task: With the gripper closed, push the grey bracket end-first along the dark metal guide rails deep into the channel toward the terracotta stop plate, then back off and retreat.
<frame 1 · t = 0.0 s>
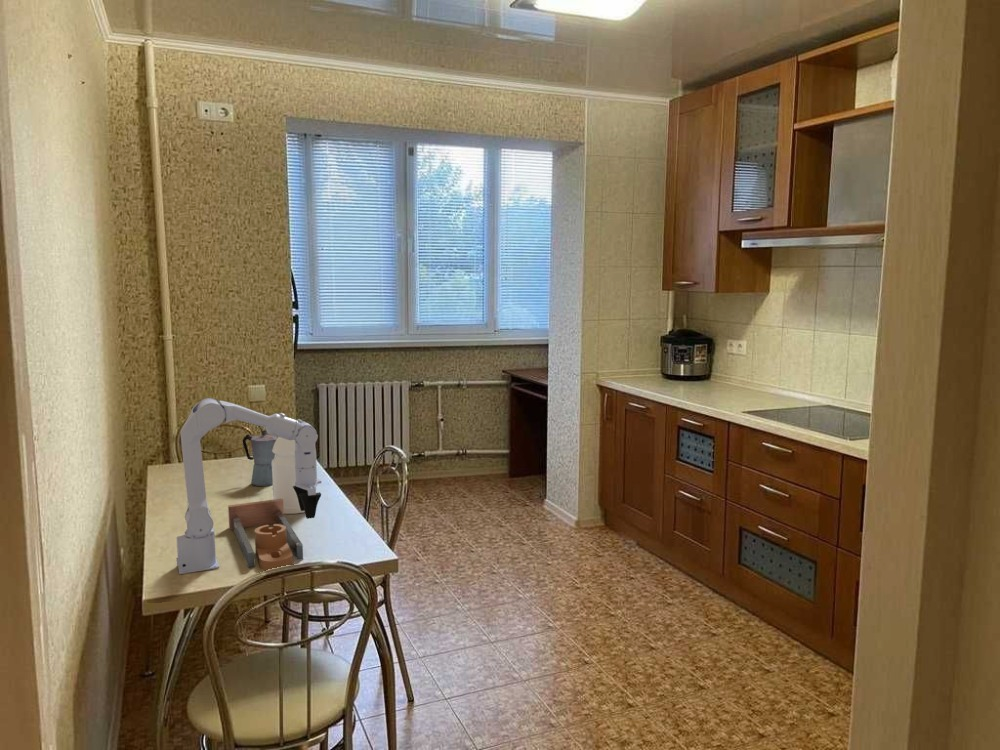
hand: (307, 514, 205), 10 cm above the table, tool pointing down, fingers open, 7 cm apart
moka pot: (262, 483, 273), on the table
receiver: (266, 543, 210), on the table
bracket: (273, 559, 199), on the table
bottle: (295, 508, 243), on the table
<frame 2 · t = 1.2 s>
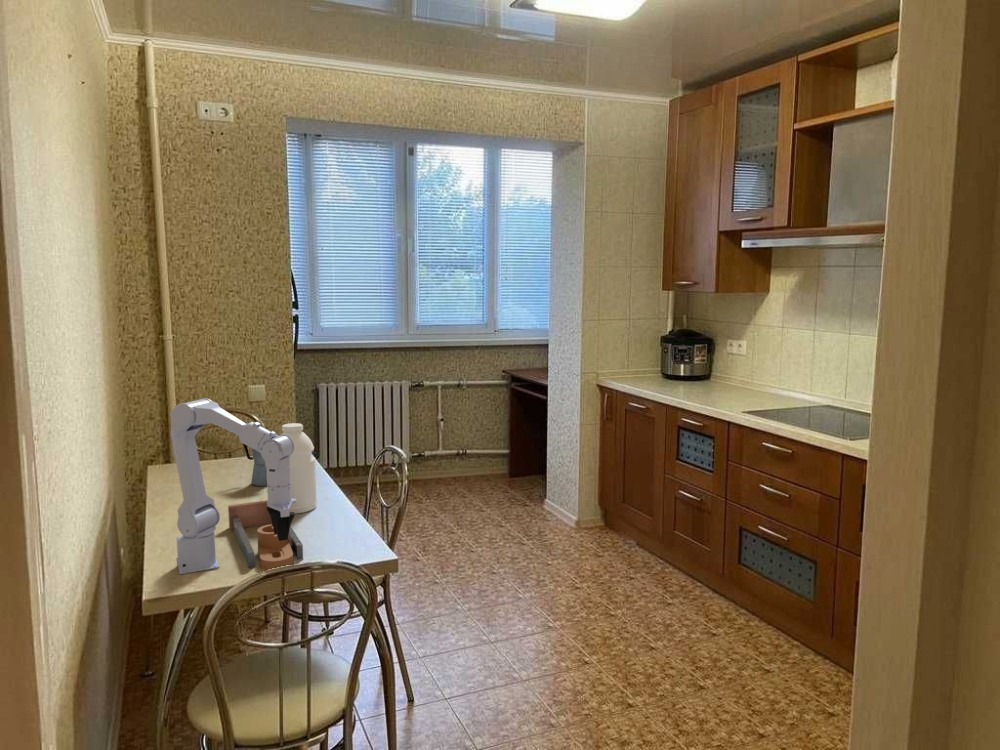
hand: (281, 536, 185), 10 cm above the table, tool pointing down, fingers open, 5 cm apart
nothing on the table moved.
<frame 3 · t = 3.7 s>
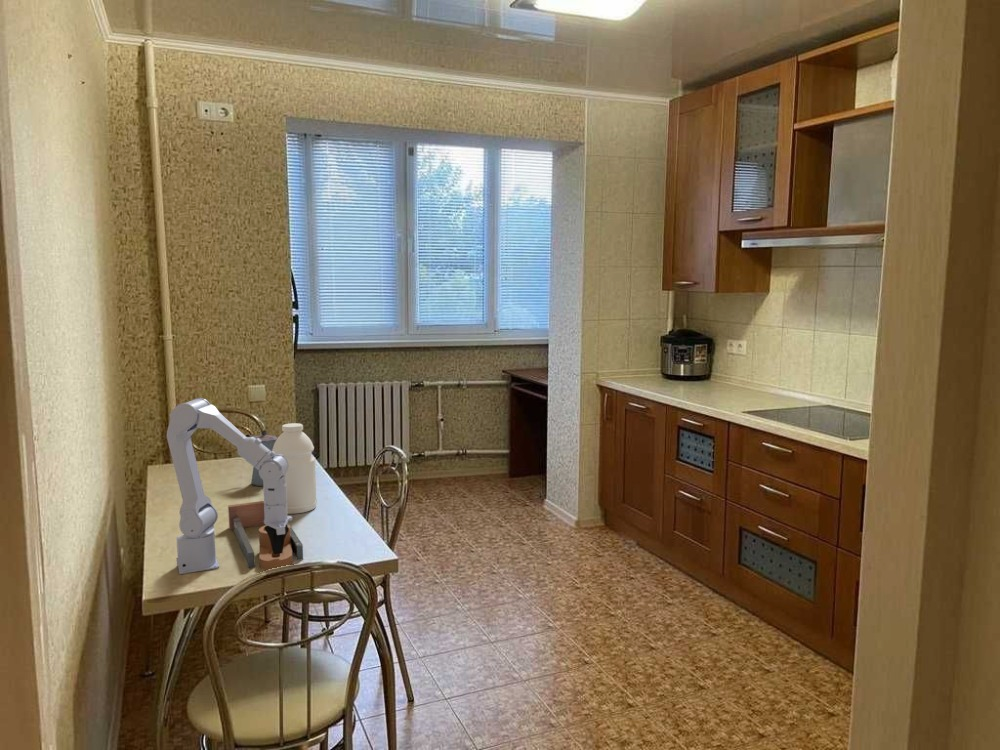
hand: (277, 553, 192), 4 cm above the table, tool pointing down, fingers closed
nothing on the table moved.
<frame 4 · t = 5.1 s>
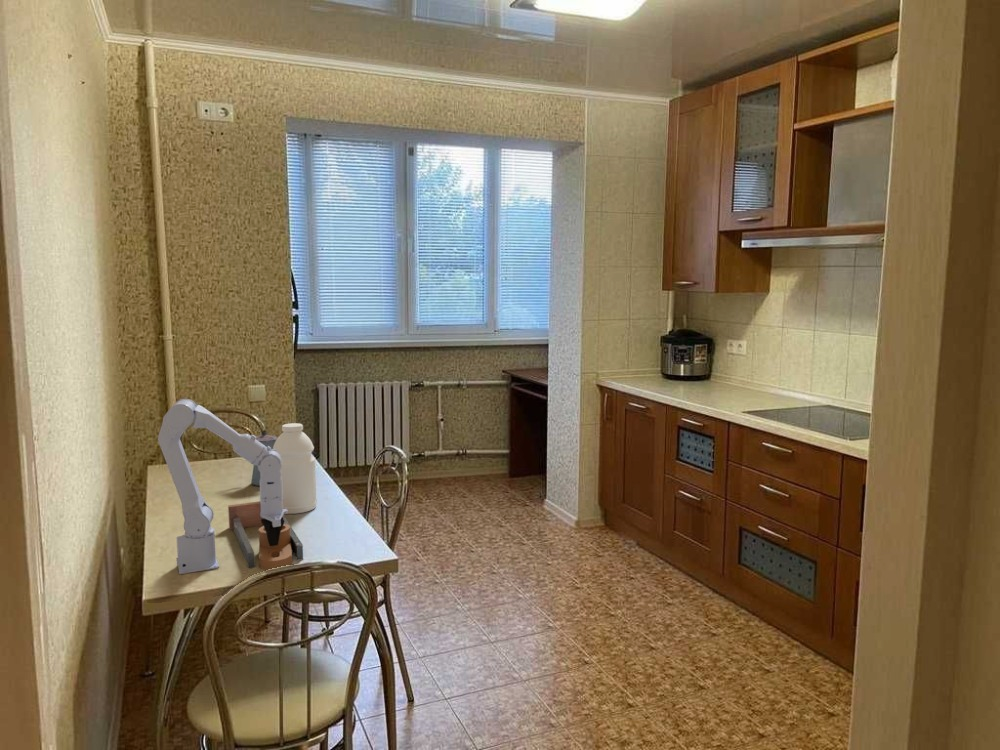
hand: (273, 544, 198), 4 cm above the table, tool pointing down, fingers closed
bracket: (275, 559, 199), on the table, touching gripper
everything else where it was.
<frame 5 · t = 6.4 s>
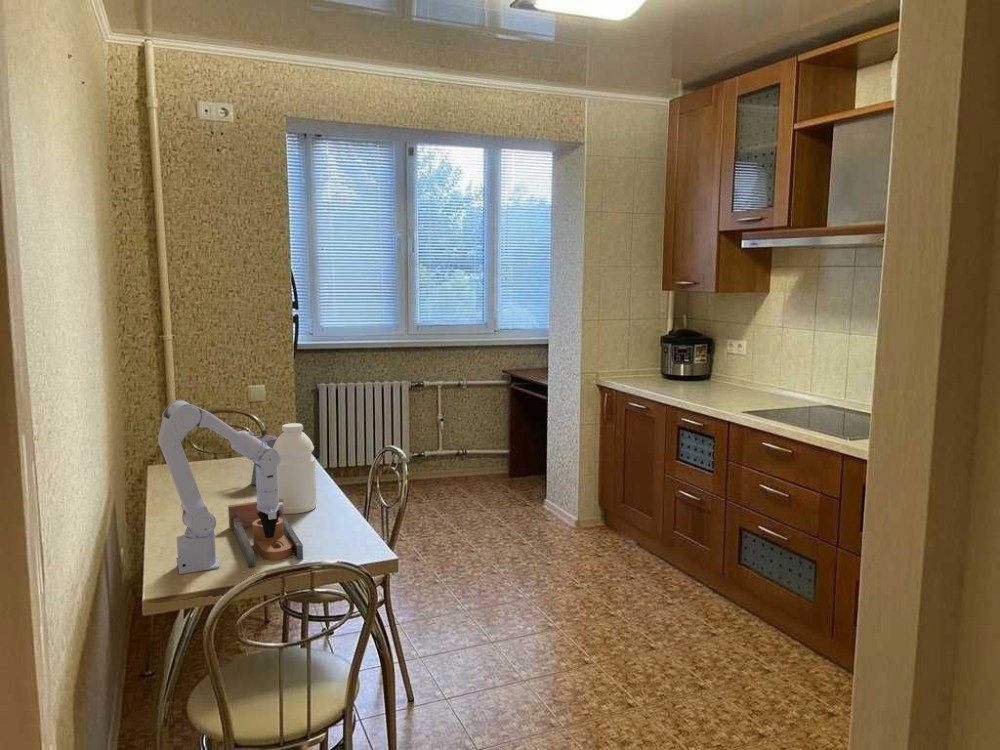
hand: (269, 537, 204), 4 cm above the table, tool pointing down, fingers closed
bracket: (273, 551, 205), on the table, touching gripper
everything else where it was.
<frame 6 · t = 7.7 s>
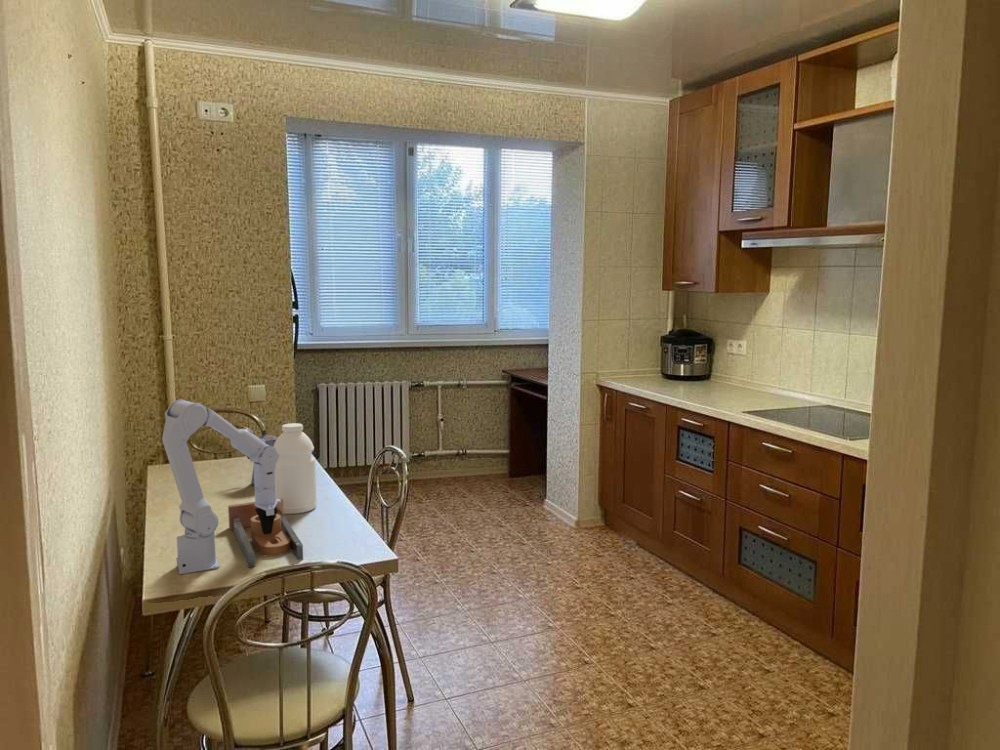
hand: (267, 533, 207), 4 cm above the table, tool pointing down, fingers closed
bracket: (271, 546, 209), on the table
everything else where it was.
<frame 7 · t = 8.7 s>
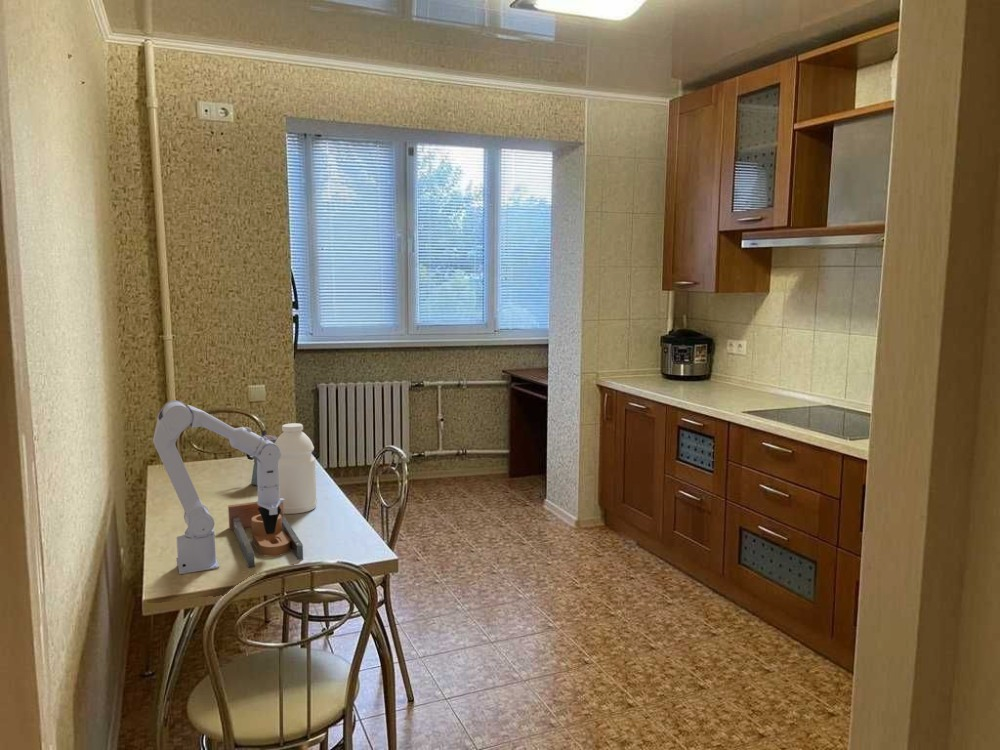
hand: (270, 533, 202), 6 cm above the table, tool pointing down, fingers closed
nothing on the table moved.
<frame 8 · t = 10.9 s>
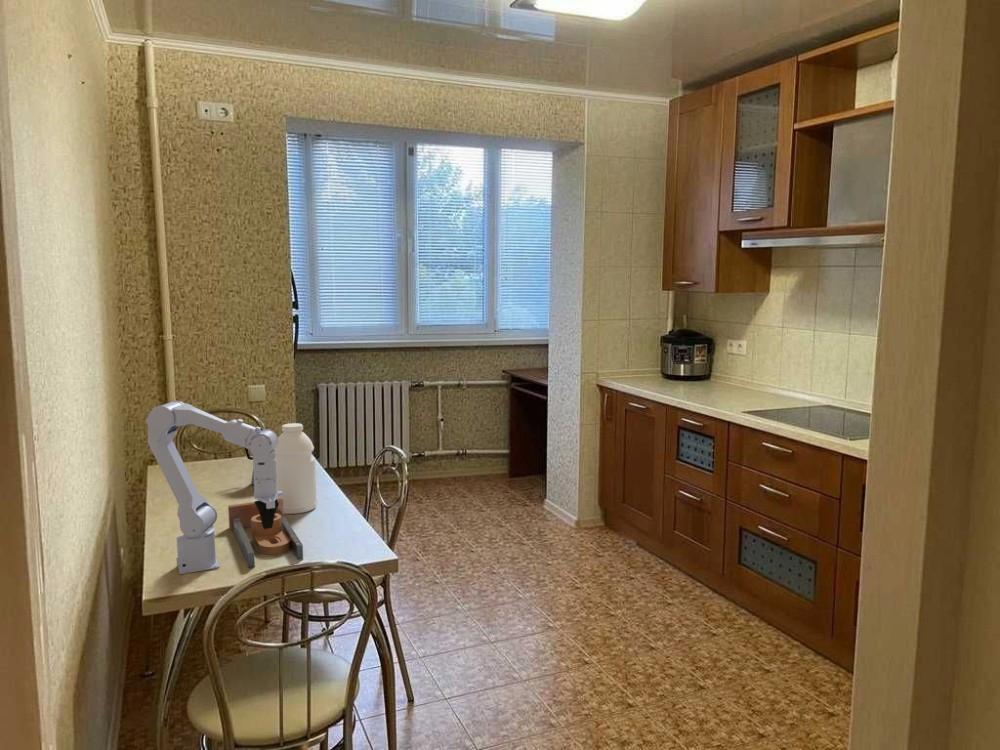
hand: (267, 527, 192), 10 cm above the table, tool pointing down, fingers closed
nothing on the table moved.
at the end: bracket inside the target area (1.2 cm from its centre), on the table; bracket moved 11.1 cm from its start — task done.
